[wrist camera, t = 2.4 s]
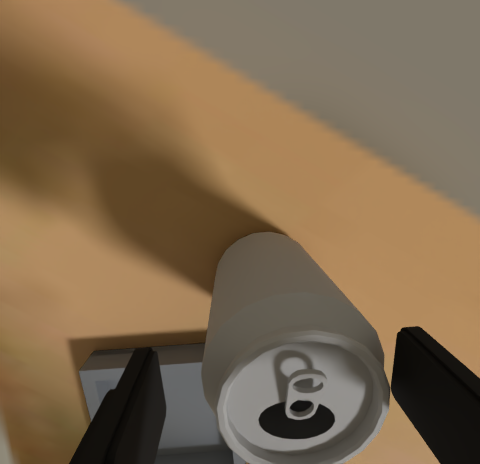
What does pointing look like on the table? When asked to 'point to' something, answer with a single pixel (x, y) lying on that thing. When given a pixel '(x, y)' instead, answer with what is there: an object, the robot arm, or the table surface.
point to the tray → (167, 403)
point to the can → (289, 358)
